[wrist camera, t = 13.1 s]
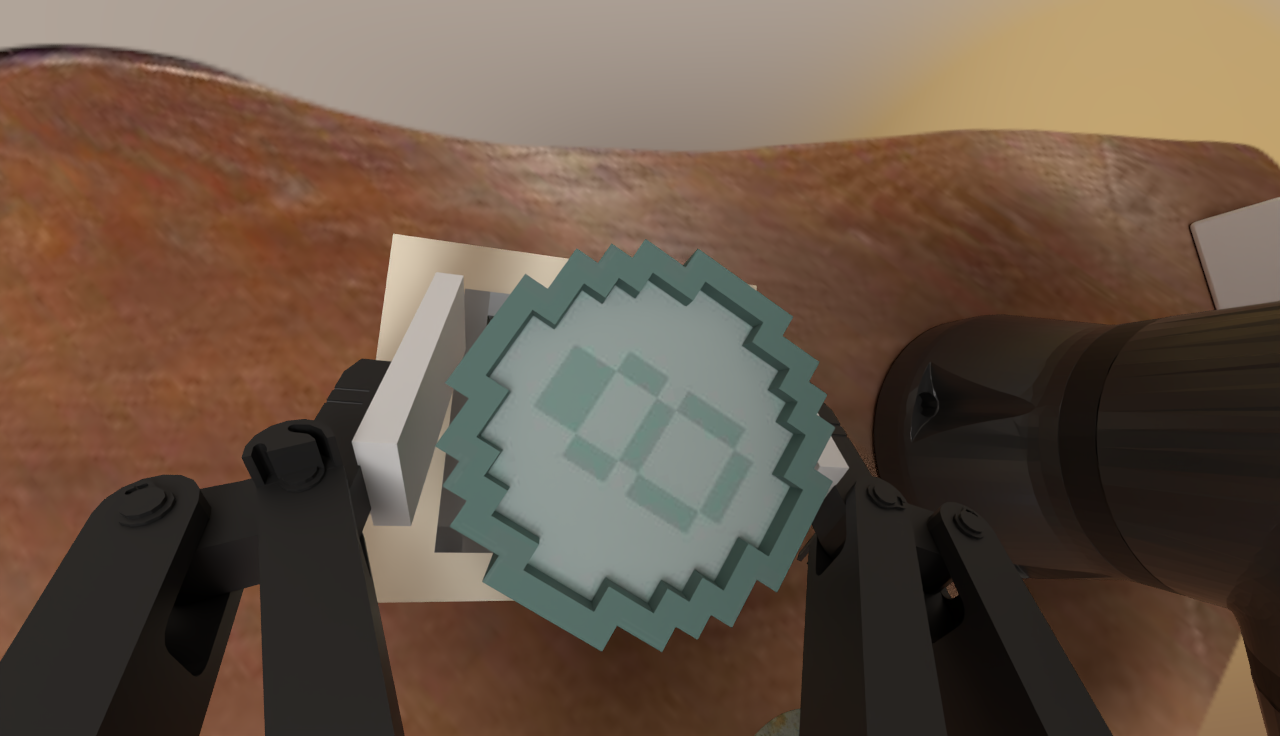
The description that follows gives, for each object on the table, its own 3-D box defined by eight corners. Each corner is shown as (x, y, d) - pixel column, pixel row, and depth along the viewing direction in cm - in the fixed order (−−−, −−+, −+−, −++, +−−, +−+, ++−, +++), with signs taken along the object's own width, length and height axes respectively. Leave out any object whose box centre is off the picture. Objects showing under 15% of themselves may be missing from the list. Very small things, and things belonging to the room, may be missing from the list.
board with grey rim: (744, 292, 26) (780, 271, 22) (731, 586, 24) (768, 618, 20) (402, 245, 22) (374, 210, 18) (356, 589, 20) (314, 630, 17)
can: (562, 337, 22) (597, 176, 7) (665, 406, 23) (883, 381, 8) (487, 445, 21) (353, 506, 6) (599, 515, 21) (714, 717, 7)
